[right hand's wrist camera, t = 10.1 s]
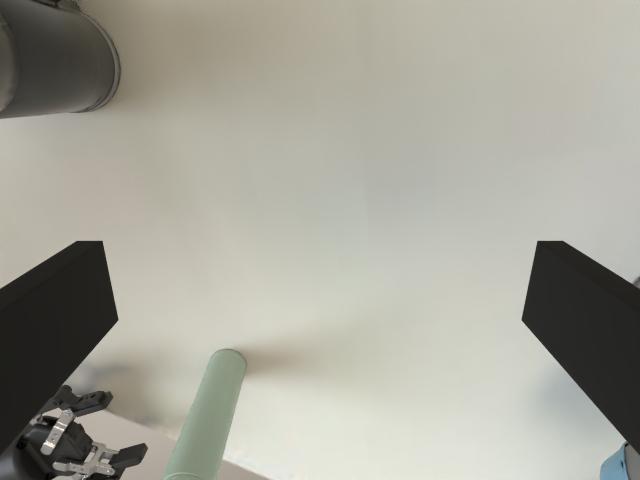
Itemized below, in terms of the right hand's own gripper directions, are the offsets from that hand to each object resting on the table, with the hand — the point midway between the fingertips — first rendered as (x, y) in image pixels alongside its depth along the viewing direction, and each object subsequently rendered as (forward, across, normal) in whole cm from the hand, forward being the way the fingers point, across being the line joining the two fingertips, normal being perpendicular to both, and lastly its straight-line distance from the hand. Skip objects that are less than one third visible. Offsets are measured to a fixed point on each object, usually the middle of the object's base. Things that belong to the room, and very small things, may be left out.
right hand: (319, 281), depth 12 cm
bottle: (+32, +12, +28) cm, 45 cm away
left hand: (+26, +23, +32) cm, 47 cm away
